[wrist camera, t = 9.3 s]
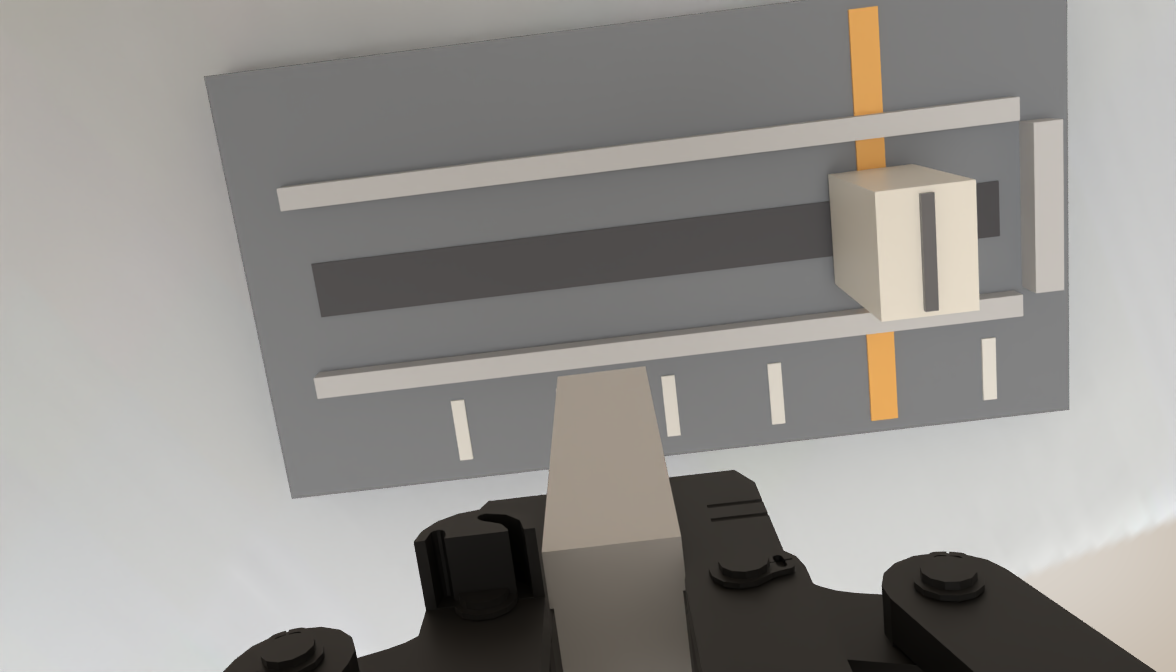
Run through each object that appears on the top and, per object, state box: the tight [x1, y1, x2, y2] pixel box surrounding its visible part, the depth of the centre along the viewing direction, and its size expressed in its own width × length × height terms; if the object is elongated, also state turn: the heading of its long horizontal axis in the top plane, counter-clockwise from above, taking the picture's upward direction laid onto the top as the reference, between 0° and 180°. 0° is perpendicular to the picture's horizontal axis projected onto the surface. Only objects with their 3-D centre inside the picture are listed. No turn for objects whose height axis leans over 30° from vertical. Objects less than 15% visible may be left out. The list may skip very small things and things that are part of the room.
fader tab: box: [828, 164, 980, 322], centre depth 33 cm, size 4×3×6 cm
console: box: [204, 0, 1069, 499], centre depth 37 cm, size 16×30×3 cm, turn 97°
